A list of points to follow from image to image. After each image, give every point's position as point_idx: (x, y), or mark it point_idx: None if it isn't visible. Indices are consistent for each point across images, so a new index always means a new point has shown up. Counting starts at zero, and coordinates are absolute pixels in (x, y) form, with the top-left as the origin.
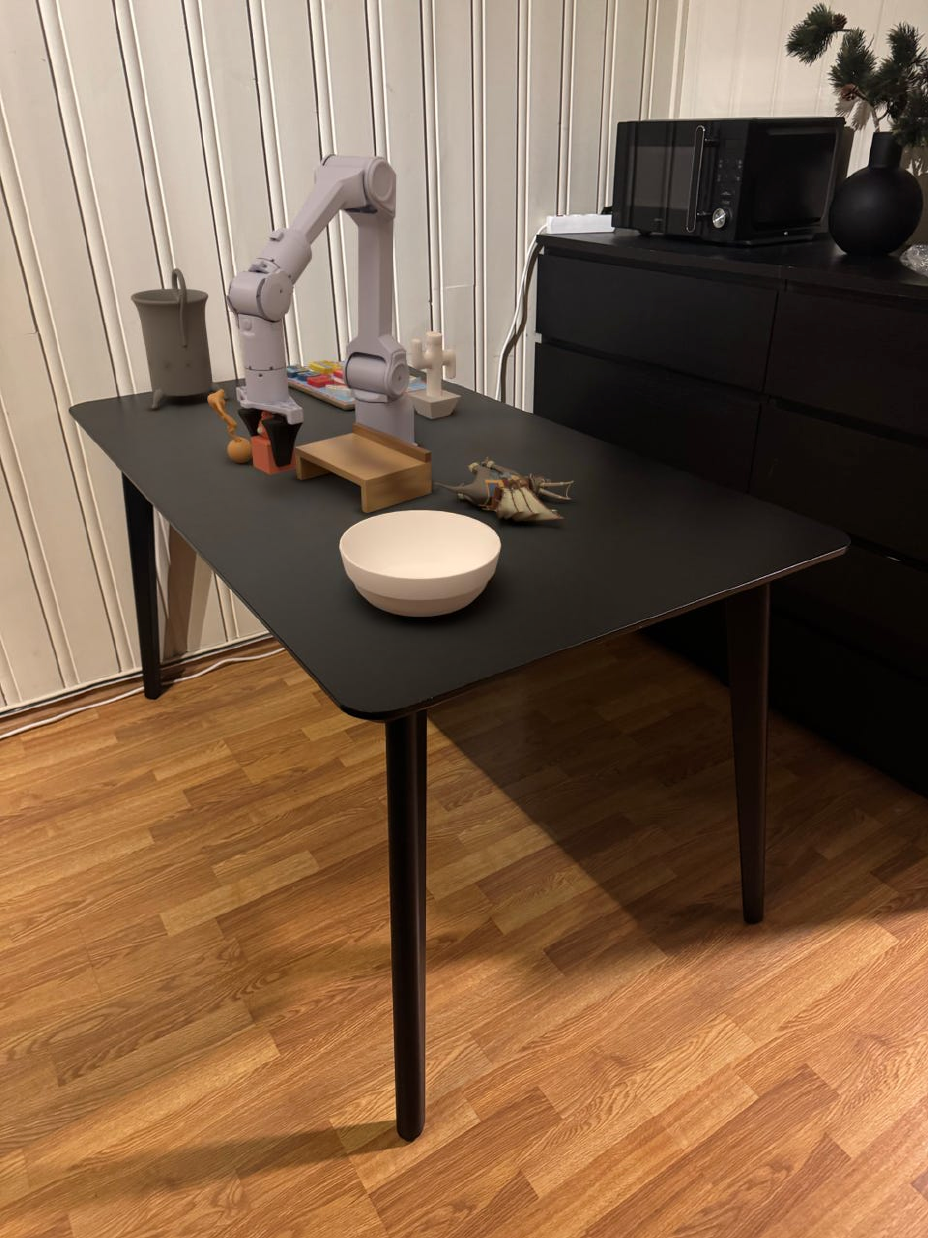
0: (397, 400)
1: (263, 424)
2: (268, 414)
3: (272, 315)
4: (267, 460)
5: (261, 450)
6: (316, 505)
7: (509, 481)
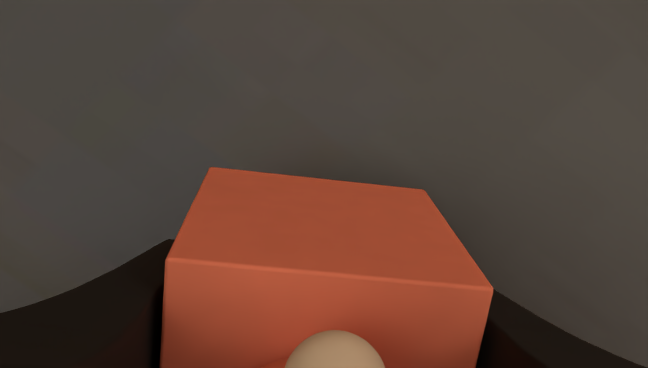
0: None
1: (2, 364)
2: None
3: None
4: (208, 201)
5: (290, 232)
6: (53, 257)
7: None
